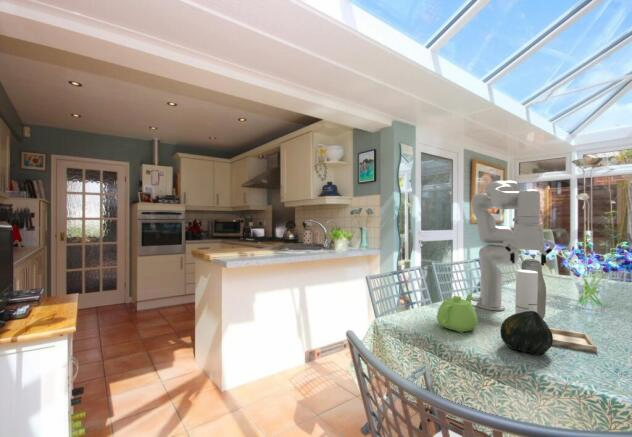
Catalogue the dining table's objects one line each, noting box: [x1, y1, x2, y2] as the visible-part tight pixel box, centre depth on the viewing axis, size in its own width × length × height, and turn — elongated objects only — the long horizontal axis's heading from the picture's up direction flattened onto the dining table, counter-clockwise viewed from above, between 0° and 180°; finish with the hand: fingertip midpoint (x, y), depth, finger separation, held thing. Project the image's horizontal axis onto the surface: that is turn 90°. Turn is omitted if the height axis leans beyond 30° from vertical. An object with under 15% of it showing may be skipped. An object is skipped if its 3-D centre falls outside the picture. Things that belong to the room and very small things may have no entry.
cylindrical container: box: [514, 269, 538, 314], centre depth 124 cm, size 7×7×25 cm
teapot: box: [436, 293, 479, 333], centre depth 130 cm, size 22×15×13 cm
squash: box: [499, 311, 553, 355], centre depth 108 cm, size 14×15×15 cm
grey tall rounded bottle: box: [520, 258, 547, 320], centre depth 137 cm, size 10×10×28 cm
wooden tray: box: [549, 327, 598, 354], centre depth 116 cm, size 14×14×2 cm
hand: (527, 264), depth 123 cm, fingers open, 9 cm apart
